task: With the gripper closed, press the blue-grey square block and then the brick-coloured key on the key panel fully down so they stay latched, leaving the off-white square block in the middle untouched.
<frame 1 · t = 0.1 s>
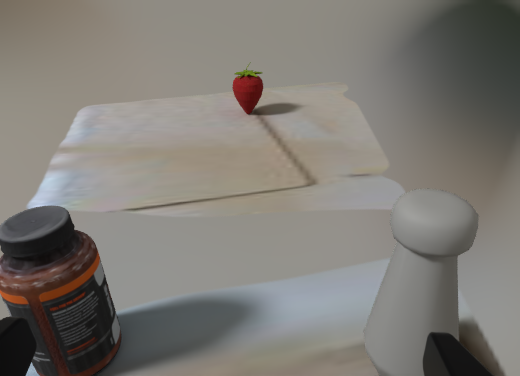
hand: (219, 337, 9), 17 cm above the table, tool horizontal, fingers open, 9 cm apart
salt shaker: (404, 369, 27), on the table
strawberry: (249, 114, 79), on the table
supplement bottle: (81, 353, 29), on the table
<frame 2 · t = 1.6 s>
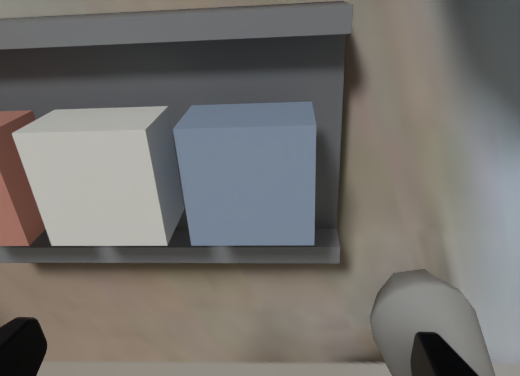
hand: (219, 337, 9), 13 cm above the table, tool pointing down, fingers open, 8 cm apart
blue-grey square block: (251, 173, 16), point 5 cm above the table, slide at 0.0 cm
salt shaker: (409, 292, 25), on the table
panel: (147, 135, 21), on the table
off-white square block: (109, 176, 17), point 5 cm above the table, slide at 0.0 cm
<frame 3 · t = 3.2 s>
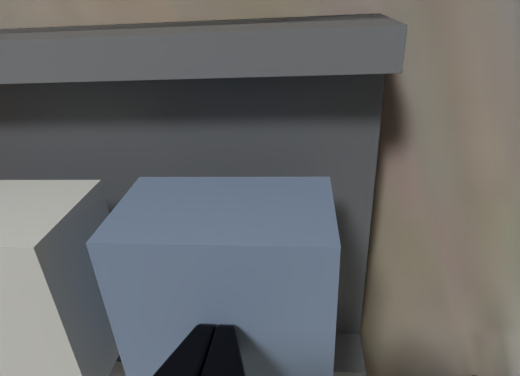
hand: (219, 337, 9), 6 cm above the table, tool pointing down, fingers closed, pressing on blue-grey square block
blue-grey square block: (231, 290, 10), point 5 cm above the table, slide at 0.2 cm, touching gripper
panel: (93, 197, 15), on the table
off-white square block: (7, 289, 11), point 5 cm above the table, slide at 0.0 cm
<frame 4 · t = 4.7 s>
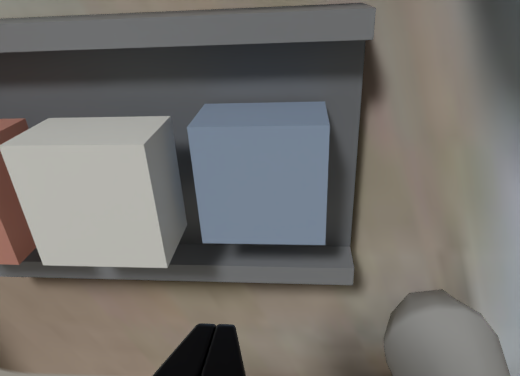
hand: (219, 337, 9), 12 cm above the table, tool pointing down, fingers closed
blue-grey square block: (263, 172, 16), point 3 cm above the table, slide at 1.6 cm
salt shaker: (426, 313, 24), on the table
panel: (149, 143, 20), on the table
off-white square block: (106, 191, 15), point 5 cm above the table, slide at 0.0 cm
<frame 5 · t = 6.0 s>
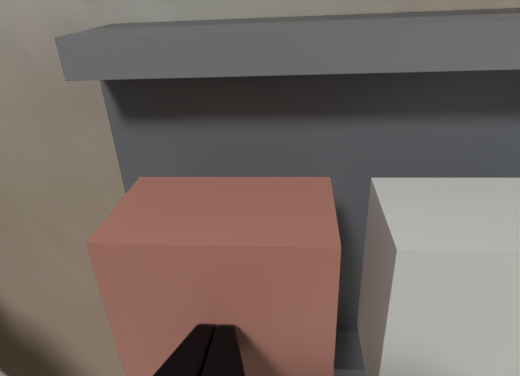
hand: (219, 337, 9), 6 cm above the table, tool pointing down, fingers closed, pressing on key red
panel: (422, 197, 14), on the table
key red: (231, 290, 10), point 5 cm above the table, slide at 0.0 cm, touching gripper
off-white square block: (478, 299, 9), point 5 cm above the table, slide at 0.0 cm
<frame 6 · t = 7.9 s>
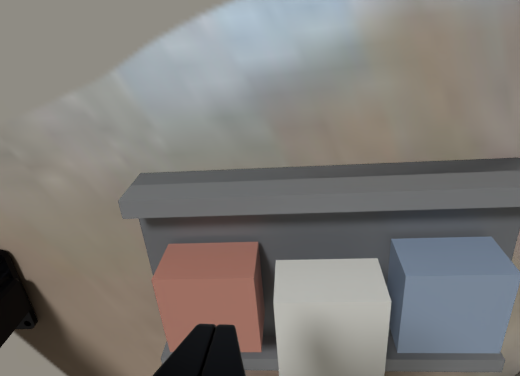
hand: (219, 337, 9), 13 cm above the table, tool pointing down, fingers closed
blue-grey square block: (444, 294, 20), point 3 cm above the table, slide at 1.6 cm
panel: (321, 256, 24), on the table
key red: (214, 296, 21), point 3 cm above the table, slide at 1.6 cm
off-white square block: (328, 319, 19), point 5 cm above the table, slide at 0.0 cm
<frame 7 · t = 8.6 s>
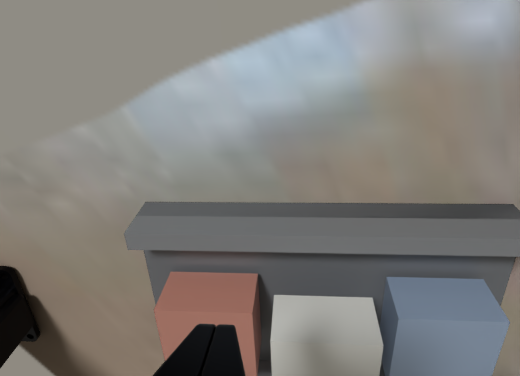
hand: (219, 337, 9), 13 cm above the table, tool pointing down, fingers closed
blue-grey square block: (435, 333, 21), point 3 cm above the table, slide at 1.6 cm
panel: (318, 287, 25), on the table
key red: (213, 325, 22), point 3 cm above the table, slide at 1.6 cm
off-white square block: (322, 354, 20), point 5 cm above the table, slide at 0.0 cm
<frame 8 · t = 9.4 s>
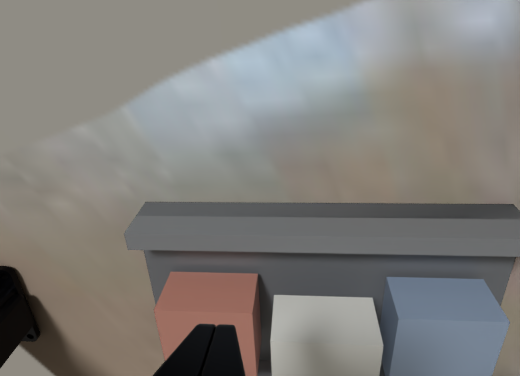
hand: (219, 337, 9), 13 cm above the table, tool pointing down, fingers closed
blue-grey square block: (435, 333, 21), point 3 cm above the table, slide at 1.6 cm
panel: (318, 287, 25), on the table
key red: (213, 325, 22), point 3 cm above the table, slide at 1.6 cm
off-white square block: (322, 354, 20), point 5 cm above the table, slide at 0.0 cm
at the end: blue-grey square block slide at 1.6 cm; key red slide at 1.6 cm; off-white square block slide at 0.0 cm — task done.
